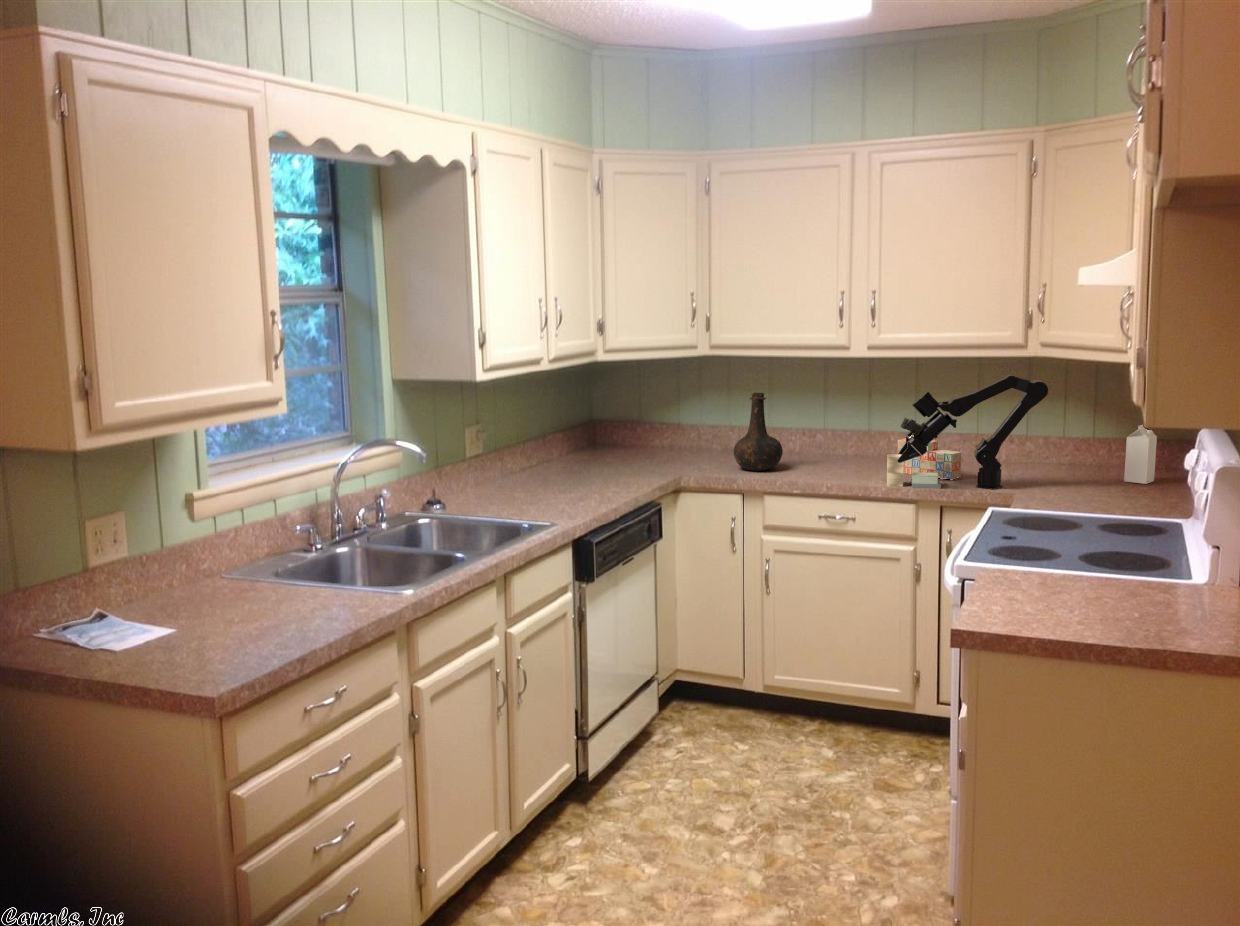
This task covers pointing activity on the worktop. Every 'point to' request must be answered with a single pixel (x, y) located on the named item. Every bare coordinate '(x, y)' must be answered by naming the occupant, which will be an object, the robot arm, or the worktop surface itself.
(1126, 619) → the worktop surface
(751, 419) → the glass bottle
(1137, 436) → the milk carton
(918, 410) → the robot arm
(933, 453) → the stack of blocks
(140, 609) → the worktop surface
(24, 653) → the worktop surface
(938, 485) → the tower base
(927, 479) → the tower top
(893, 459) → the tall block
